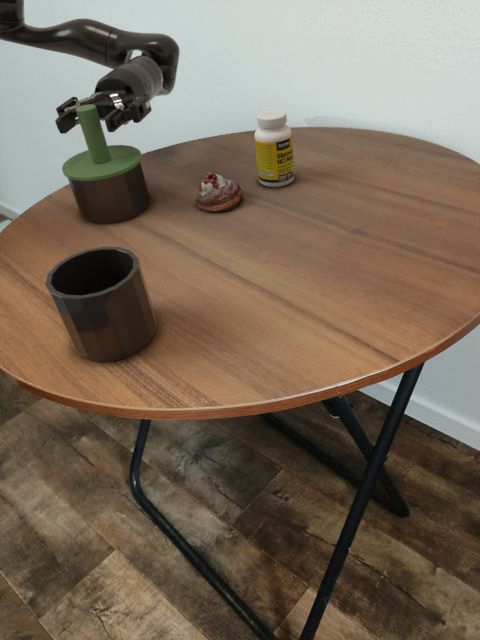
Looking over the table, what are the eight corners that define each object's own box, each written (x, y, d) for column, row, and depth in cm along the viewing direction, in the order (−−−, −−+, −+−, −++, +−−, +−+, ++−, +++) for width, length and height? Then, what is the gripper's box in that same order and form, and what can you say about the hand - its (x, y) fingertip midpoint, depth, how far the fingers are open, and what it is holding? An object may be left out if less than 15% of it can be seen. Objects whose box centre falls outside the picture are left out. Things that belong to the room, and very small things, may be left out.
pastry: (189, 201, 87) (183, 172, 84) (227, 187, 90) (223, 158, 87) (212, 218, 82) (207, 188, 79) (252, 202, 85) (249, 172, 81)
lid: (50, 184, 81) (26, 123, 74) (86, 152, 90) (67, 95, 83) (124, 184, 78) (106, 121, 72) (154, 151, 87) (140, 92, 81)
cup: (58, 359, 60) (28, 296, 54) (96, 306, 67) (72, 245, 61) (139, 365, 58) (116, 300, 52) (168, 310, 65) (151, 247, 59)
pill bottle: (283, 190, 87) (278, 122, 79) (252, 185, 90) (244, 119, 82) (301, 175, 90) (297, 109, 83) (270, 171, 93) (264, 106, 86)
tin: (69, 223, 85) (53, 179, 80) (99, 191, 94) (86, 150, 89) (134, 224, 83) (121, 179, 78) (159, 191, 91) (149, 149, 86)
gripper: (170, 113, 90) (134, 150, 78) (95, 115, 93) (50, 152, 81) (160, 65, 85) (120, 97, 73) (81, 69, 88) (31, 101, 76)
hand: (83, 126), depth 77 cm, fingers open, 7 cm apart
